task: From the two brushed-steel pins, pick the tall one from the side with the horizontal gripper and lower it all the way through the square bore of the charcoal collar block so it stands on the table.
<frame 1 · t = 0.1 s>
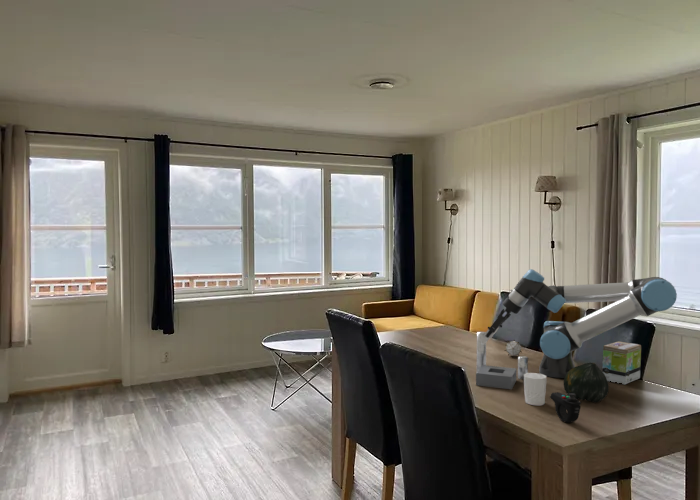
hand: (485, 339, 232), 15 cm above the table, tool tilted 35°, fingers open, 13 cm apart
game die: (513, 356, 264), on the table
short steel pin: (522, 378, 226), on the table
white cup: (534, 403, 194), on the table
controller: (565, 421, 176), on the table
charcoal collar block: (496, 382, 219), on the table
long steel pin: (481, 373, 234), on the table
squash: (586, 399, 197), on the table
tea box: (621, 379, 224), on the table
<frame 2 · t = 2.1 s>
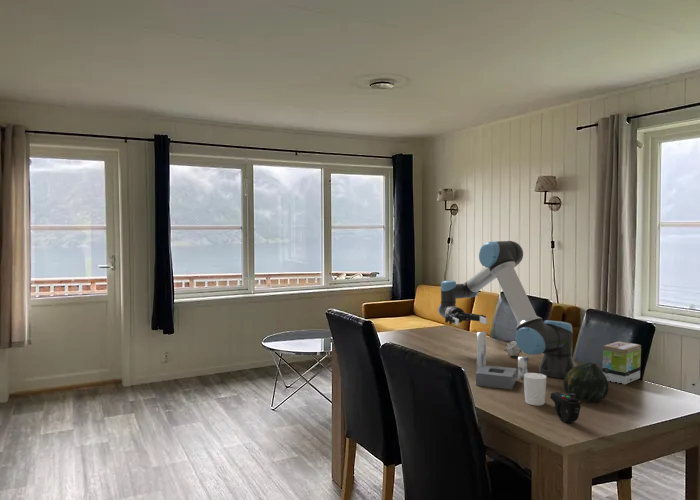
hand: (472, 322, 243), 21 cm above the table, tool horizontal, fingers open, 13 cm apart
nothing on the table moved.
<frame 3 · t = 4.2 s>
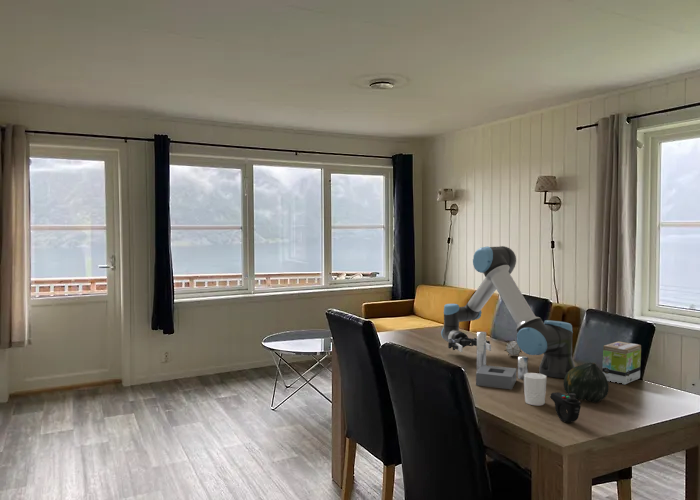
hand: (476, 348, 238), 10 cm above the table, tool horizontal, fingers open, 13 cm apart
nothing on the table moved.
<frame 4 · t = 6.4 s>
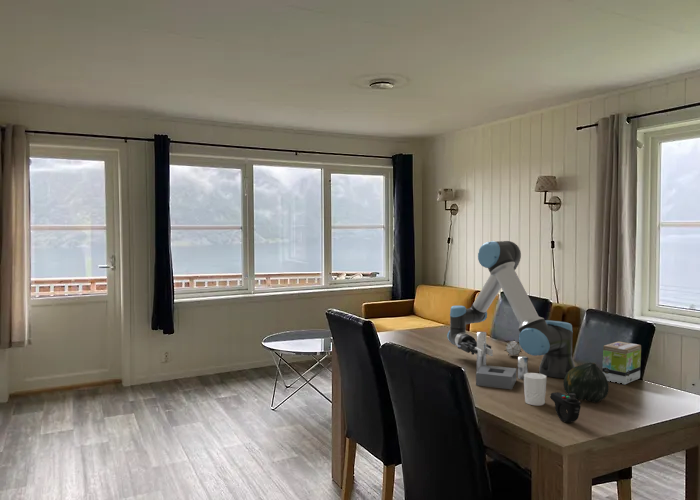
hand: (486, 353, 228), 10 cm above the table, tool horizontal, fingers closed on long steel pin, 4 cm apart
long steel pin: (481, 373, 234), on the table, touching gripper
everything else where it was.
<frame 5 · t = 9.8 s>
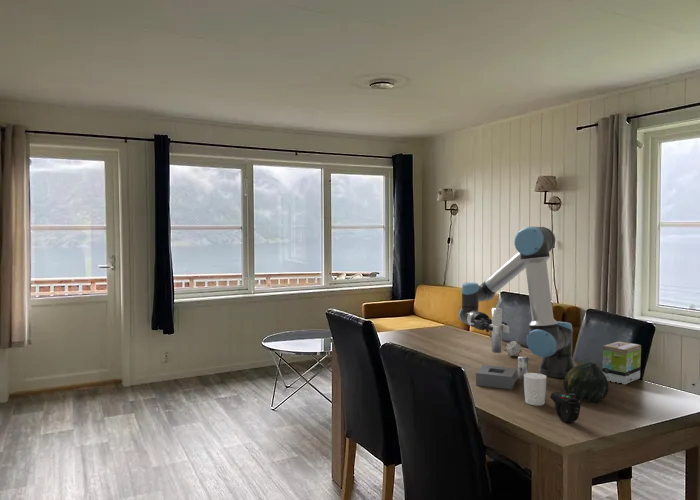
hand: (502, 330, 213), 23 cm above the table, tool horizontal, fingers closed on long steel pin, 4 cm apart
long steel pin: (496, 351, 219), point 13 cm above the table, touching gripper
everything else where it was.
when the fingers open (11 cm above the table, at t = 13.1 s): long steel pin drops 1 cm, resting in charcoal collar block.
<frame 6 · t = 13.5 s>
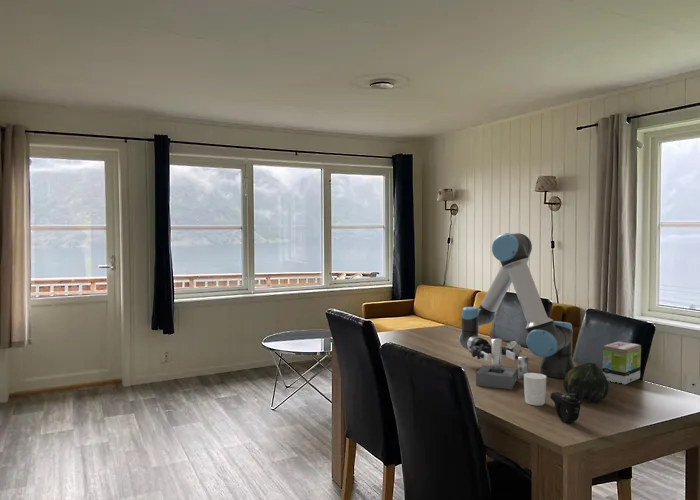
hand: (501, 357, 214), 11 cm above the table, tool horizontal, fingers open, 10 cm apart
long steel pin: (496, 382, 219), resting in charcoal collar block
everything else where it was.
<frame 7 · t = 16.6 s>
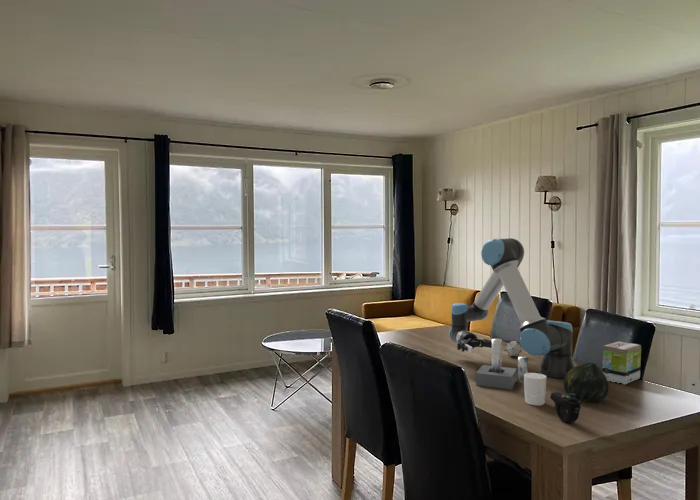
hand: (486, 349, 228), 12 cm above the table, tool horizontal, fingers open, 13 cm apart
nothing on the table moved.
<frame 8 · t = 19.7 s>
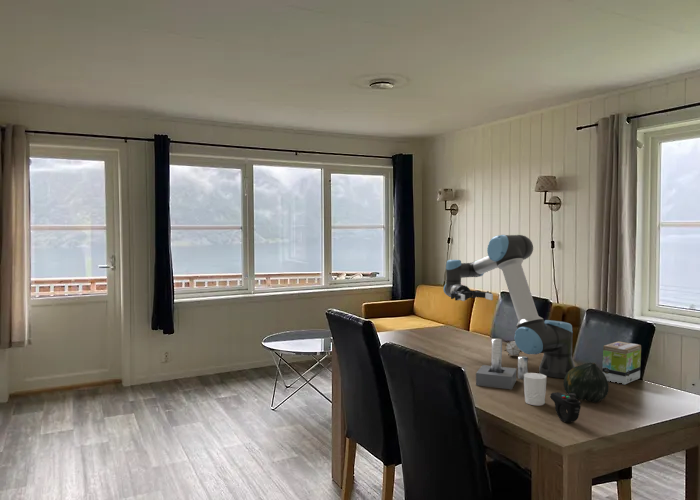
hand: (478, 297, 243), 32 cm above the table, tool horizontal, fingers open, 13 cm apart
nothing on the table moved.
at the end: long steel pin 0.1 cm from the charcoal collar block (horizontally); long steel pin resting in charcoal collar block; long steel pin tilted 0° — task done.
